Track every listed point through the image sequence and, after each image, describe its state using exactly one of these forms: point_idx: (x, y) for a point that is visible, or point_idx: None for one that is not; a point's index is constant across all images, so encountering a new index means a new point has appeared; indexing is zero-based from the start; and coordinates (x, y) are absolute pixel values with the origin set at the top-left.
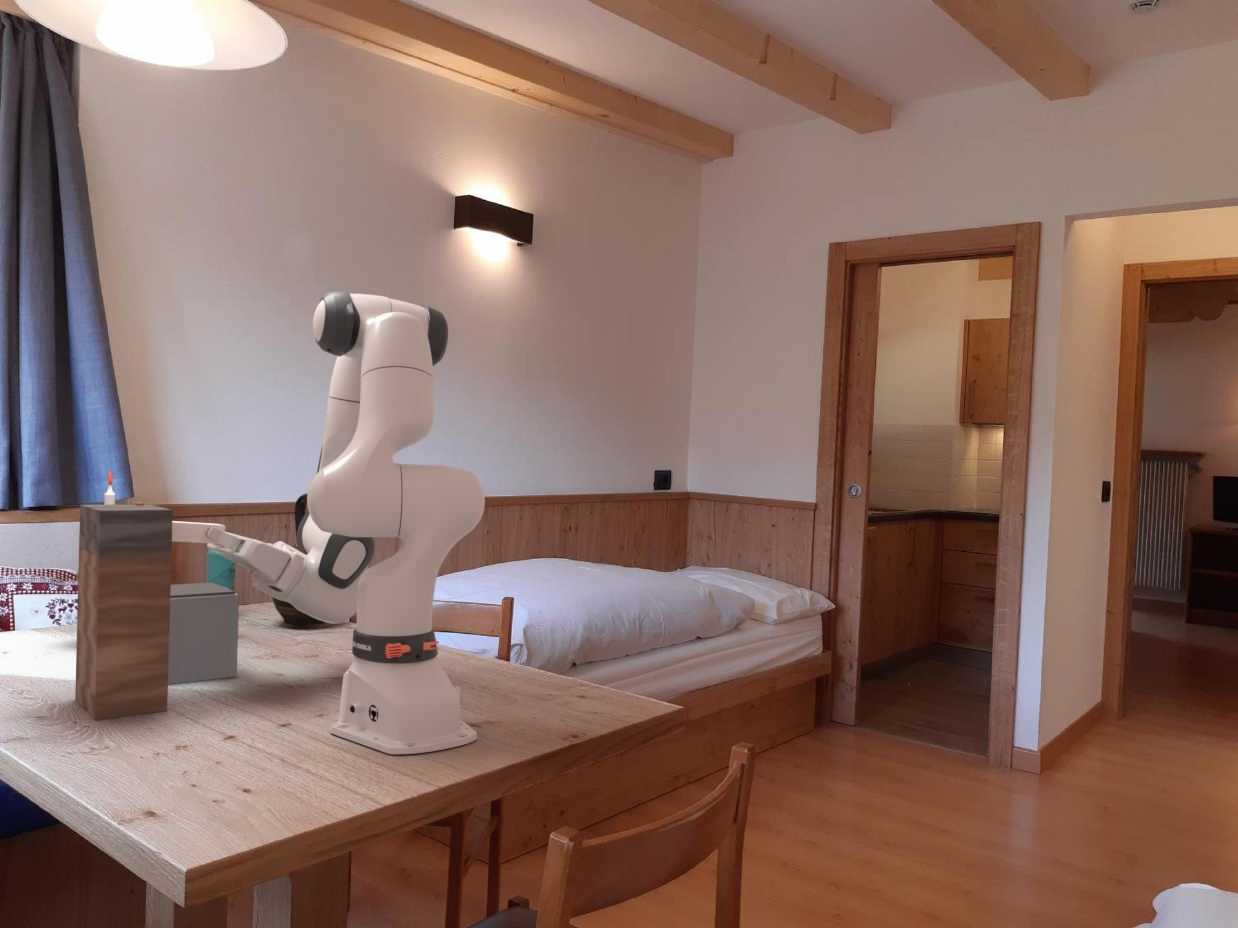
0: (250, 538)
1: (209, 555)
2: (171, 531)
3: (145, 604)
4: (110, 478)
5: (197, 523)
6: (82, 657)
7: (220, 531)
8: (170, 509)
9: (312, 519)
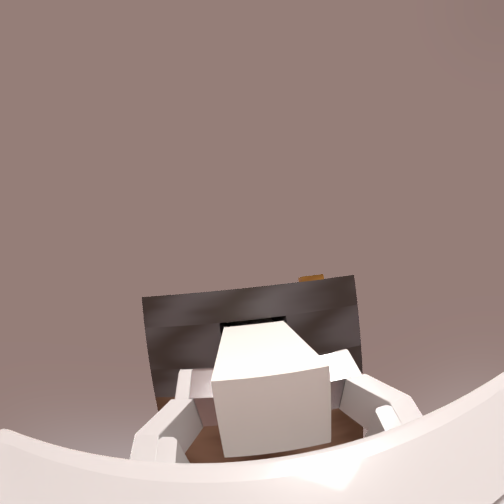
0: (37, 442)
1: None
2: (148, 347)
3: None
4: None
5: (242, 345)
6: None
7: (175, 394)
8: (157, 296)
9: None
